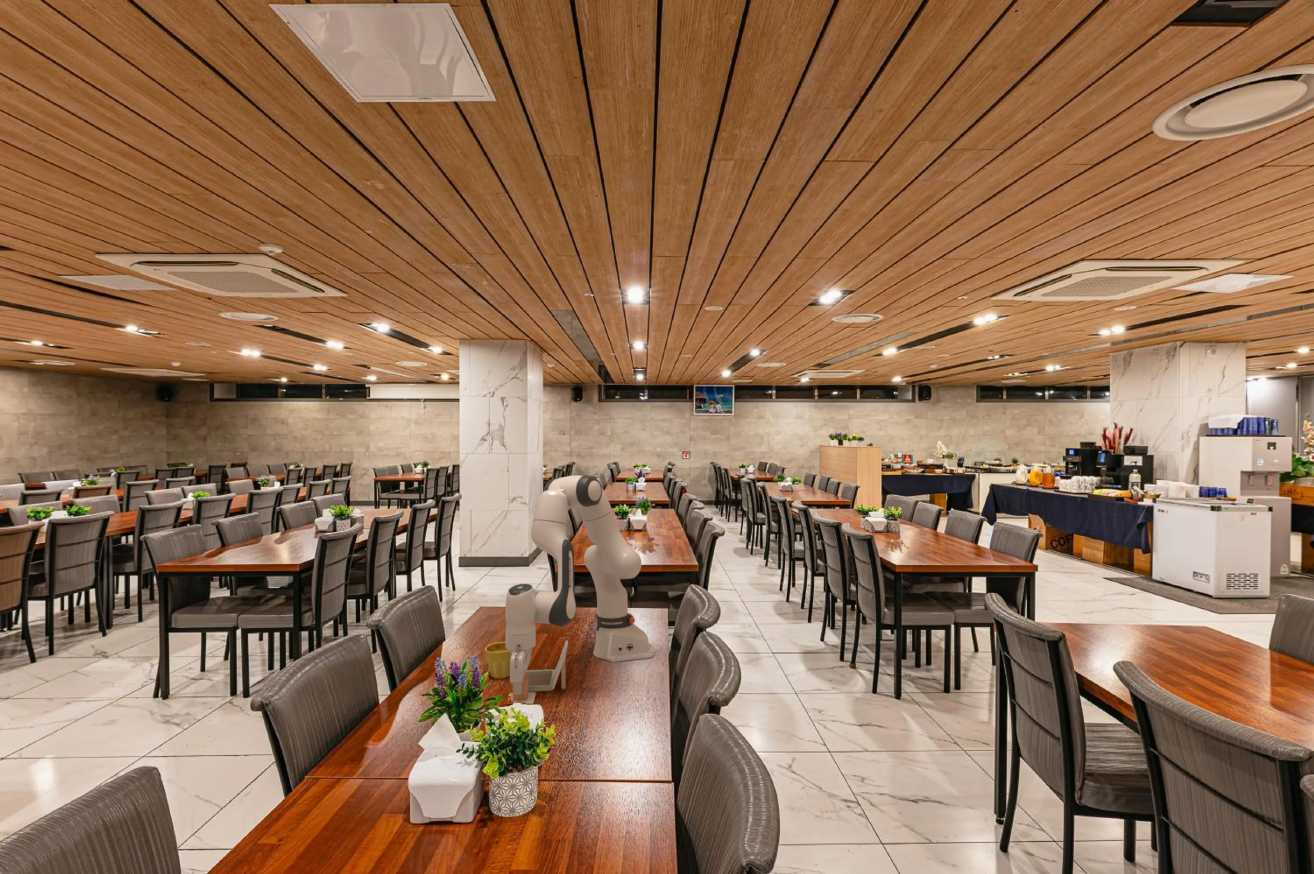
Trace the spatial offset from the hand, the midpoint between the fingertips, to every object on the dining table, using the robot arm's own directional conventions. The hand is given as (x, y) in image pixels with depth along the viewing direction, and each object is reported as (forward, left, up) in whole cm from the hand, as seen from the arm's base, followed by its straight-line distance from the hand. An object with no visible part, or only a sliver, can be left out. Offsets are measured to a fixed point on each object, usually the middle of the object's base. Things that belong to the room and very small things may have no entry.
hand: (520, 686), depth 181 cm
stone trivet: (0, 0, -4) cm, 4 cm away
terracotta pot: (0, 0, -3) cm, 3 cm away
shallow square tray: (-3, -12, -4) cm, 13 cm away
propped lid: (-11, -12, -4) cm, 17 cm away
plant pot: (+9, -20, -4) cm, 22 cm away
